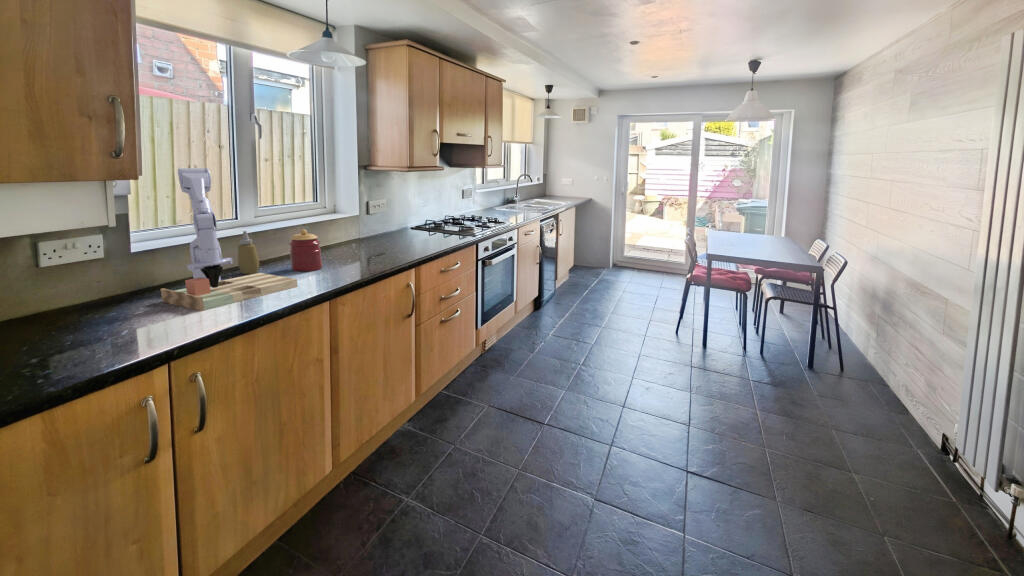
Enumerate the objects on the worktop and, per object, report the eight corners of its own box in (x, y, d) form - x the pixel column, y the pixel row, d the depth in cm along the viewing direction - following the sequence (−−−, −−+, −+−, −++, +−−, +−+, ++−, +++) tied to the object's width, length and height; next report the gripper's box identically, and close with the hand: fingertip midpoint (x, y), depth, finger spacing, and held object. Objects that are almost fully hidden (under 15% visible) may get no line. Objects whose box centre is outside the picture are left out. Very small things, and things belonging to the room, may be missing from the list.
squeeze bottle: (254, 270, 219) (249, 229, 215) (264, 272, 215) (259, 231, 210) (235, 273, 213) (230, 231, 208) (245, 276, 208) (240, 233, 204)
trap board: (162, 301, 170) (160, 289, 169) (260, 279, 202) (258, 269, 200) (201, 311, 160) (199, 297, 159) (297, 286, 192) (296, 275, 191)
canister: (293, 266, 227) (289, 228, 223) (323, 265, 230) (320, 227, 226) (289, 272, 215) (285, 232, 210) (321, 271, 218) (317, 231, 214)
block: (187, 294, 168) (184, 280, 167) (202, 291, 172) (199, 277, 171) (196, 296, 166) (194, 281, 164) (210, 293, 170) (208, 278, 169)
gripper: (194, 253, 163) (200, 293, 166) (236, 246, 175) (241, 284, 178) (181, 251, 166) (187, 290, 169) (223, 244, 178) (228, 281, 182)
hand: (214, 287), depth 174 cm, fingers closed
